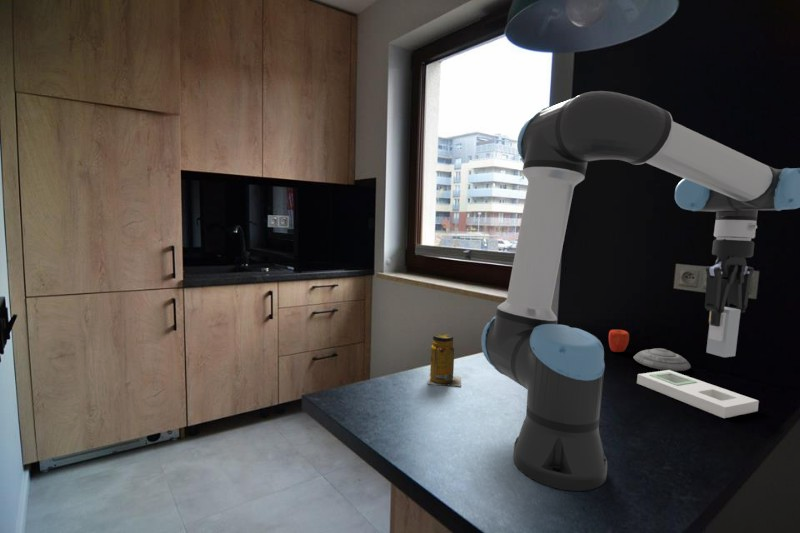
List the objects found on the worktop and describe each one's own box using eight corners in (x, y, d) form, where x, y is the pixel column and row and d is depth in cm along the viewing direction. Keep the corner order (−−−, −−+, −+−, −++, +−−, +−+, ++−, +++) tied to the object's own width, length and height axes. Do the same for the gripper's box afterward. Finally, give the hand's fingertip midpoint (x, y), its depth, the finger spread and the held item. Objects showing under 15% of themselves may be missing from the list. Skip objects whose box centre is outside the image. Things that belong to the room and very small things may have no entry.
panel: (723, 418, 96) (725, 406, 96) (636, 383, 116) (637, 373, 116) (757, 411, 101) (758, 399, 100) (668, 378, 121) (669, 369, 121)
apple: (623, 355, 142) (625, 333, 141) (604, 351, 146) (605, 329, 146) (631, 352, 146) (632, 330, 145) (612, 348, 150) (614, 326, 150)
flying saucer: (622, 359, 139) (623, 342, 138) (664, 358, 141) (665, 341, 141) (657, 375, 124) (658, 356, 124) (703, 374, 126) (704, 355, 126)
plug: (724, 357, 100) (729, 310, 98) (703, 351, 104) (708, 306, 103) (735, 356, 101) (740, 309, 100) (714, 350, 105) (719, 305, 104)
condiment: (429, 375, 118) (431, 331, 117) (460, 377, 117) (462, 333, 116) (427, 384, 111) (429, 338, 110) (461, 387, 110) (463, 341, 109)
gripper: (727, 239, 93) (715, 345, 95) (775, 240, 99) (762, 340, 102) (692, 237, 100) (681, 337, 102) (739, 239, 106) (728, 333, 108)
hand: (722, 338), depth 102 cm, fingers closed on plug, 4 cm apart
